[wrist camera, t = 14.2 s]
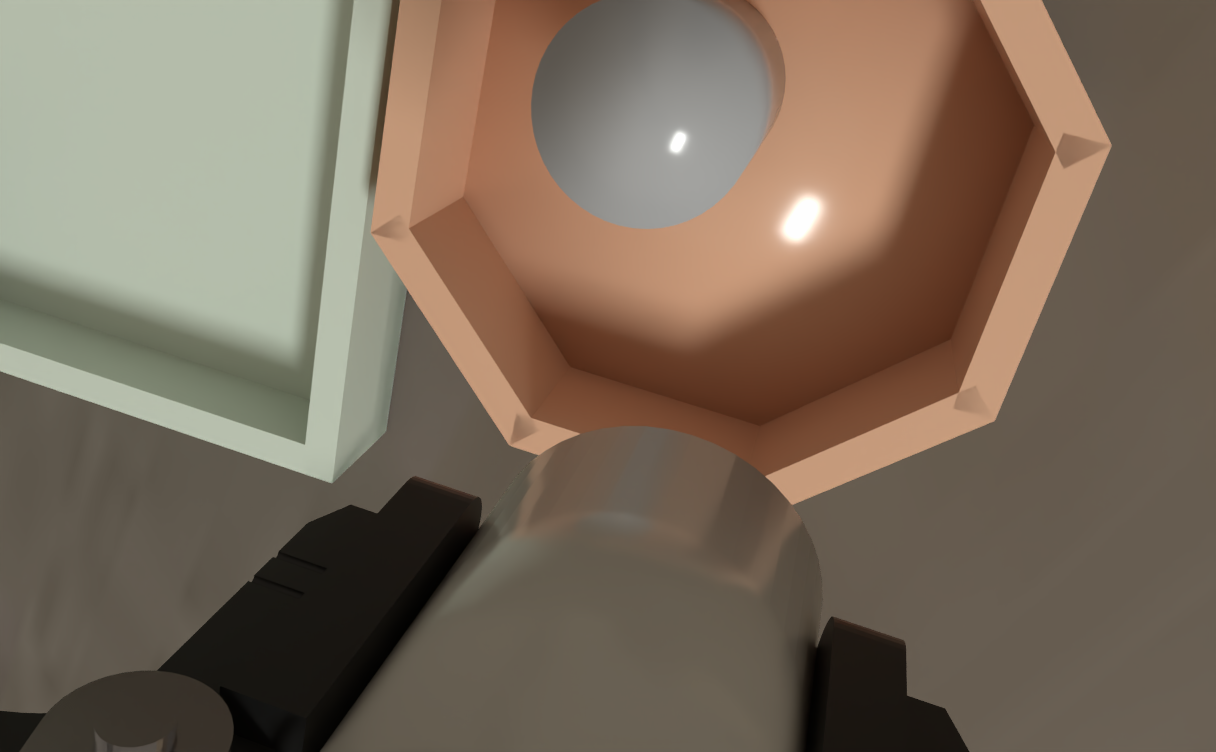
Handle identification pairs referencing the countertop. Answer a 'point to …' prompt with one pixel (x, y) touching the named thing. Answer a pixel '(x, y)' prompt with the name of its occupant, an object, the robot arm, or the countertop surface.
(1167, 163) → the countertop surface
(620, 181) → the pebble
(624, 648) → the pebble
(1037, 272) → the bowl
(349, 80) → the tray
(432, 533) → the robot arm
